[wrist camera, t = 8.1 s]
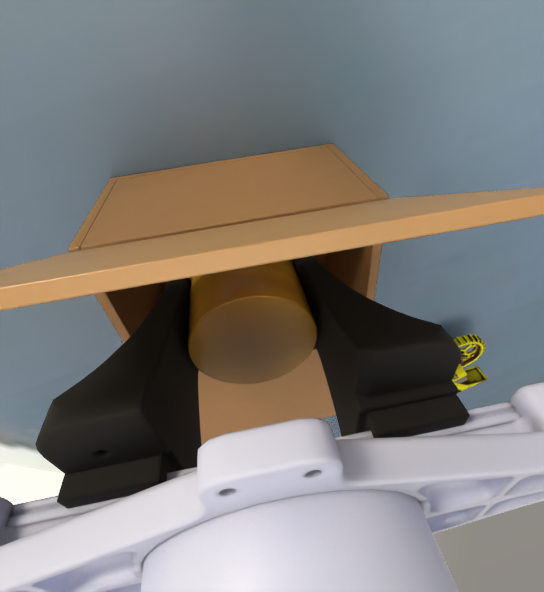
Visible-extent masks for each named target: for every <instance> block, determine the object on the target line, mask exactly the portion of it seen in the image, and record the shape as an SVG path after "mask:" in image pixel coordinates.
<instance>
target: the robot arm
mask: <svg viewBox="0 0 544 592" xmlns="http://www.w3.org/2000/svg"><path fill="white" fill-rule="evenodd" d="M293 263H294V266H295V269H296V272H297V274H298V277H299V280H300V282H301V285H302V288H303V290H304V293H305V296H306V299H307V301H308V304H309V307H310V309H311V312H312V315H313V317H314V320H315V323H316V326H317V340H316V344H315V347H316V349H317V351H318V354H319V357H320V360H321V363H322V366H323V370H324V373H325V376H326V380H327V383H328V387H329V390H330V394H331V397H332V401H333V405H334V408H335V412H336V416H337V420H338V423H339V427H340V431H341V435H342V437H338V438H334V435H333V432H332V429H331V427H330V426H329V424H328V422H325V421H323V420H319V419H316V418H299V419H294V420H289V421H284V422H279V423H274V424H269V425H264V426H259V427H255V428H250V429H245V430H240V431H235V432H230V433H225V434H222V435H219V436H216V437H213V438H210V439H209V440H208V441H207V442H203V443H201V431H200V414H199V393H198V372H199V369H198V368H197V367H196V366H195V364H194V363H193V361H192V359H191V357H190V355H189V352H188V331H189V311H190V290H191V281H190V278H184V279H178V280H173V281H169V282H168V284H167V286H166V287H165V289H164V291H163V292H162V294H161V296H160V297H159V299H158V300H157V302H156V303H155V305H154V306H153V308H152V309H151V311H150V312H149V314H148V315H147V316H146V318H145V319H144V320H143V322H142V323H141V325H140V326H139V327H138V328H137V329H136V331H135V332H134V333H133V334H132V335H131V336H130V337H129V339H128V340H127V341H126V342H125V343H124V344H123V345H122V346H121V347H120V348H119V349H118V350H117V351H116V352H114V353H113V354H112V355H111V356H110V357H109V358H108V359H107V360H106V361H105V362H104V363H103V364H101V365H100V366H99V367H98V368H97V369H95V370H94V371H93V372H92V373H90V374H89V375H88V376H87V377H85V378H84V379H83V380H81V381H80V382H79V383H77V384H76V385H74V386H73V387H71V388H70V389H68V390H67V391H66V392H64V393H63V394H61V395H60V396H58V397H57V398H55V399H54V400H53V401H52V404H51V406H50V408H49V410H48V412H47V415H46V418H45V420H44V423H43V425H42V428H41V430H40V433H39V436H38V438H37V441H36V447H37V450H38V451H39V453H40V454H41V455H42V456H43V457H44V458H45V459H47V460H48V461H49V462H51V463H52V464H53V465H55V466H56V467H57V468H58V469H60V470H61V471H62V472H64V473H65V476H64V479H63V482H62V486H61V489H60V492H59V495H58V496H55V497H50V498H46V499H41V500H36V501H31V502H27V503H22V504H17V505H13V504H12V503H11V502H9V501H8V500H6V499H4V498H1V497H0V592H459V591H458V589H457V587H456V585H455V582H454V580H453V578H452V576H451V573H450V571H449V569H448V567H447V564H446V563H445V560H444V558H443V556H442V553H441V551H440V549H439V547H438V545H437V542H436V540H435V538H434V535H433V534H434V533H438V532H441V531H444V530H447V529H451V528H454V527H457V526H460V525H463V524H467V523H470V522H473V521H476V520H480V519H483V518H486V517H489V516H493V515H496V514H499V513H502V512H506V511H509V510H513V509H516V508H519V507H523V506H526V505H529V504H533V503H537V502H541V501H544V382H542V383H537V384H532V385H527V386H524V387H522V388H520V389H518V390H517V391H516V392H515V393H514V394H513V395H512V397H511V399H510V402H505V403H501V404H496V405H491V406H486V407H481V408H477V409H472V410H466V408H465V407H464V405H463V404H462V402H461V401H460V399H459V398H458V396H457V395H456V394H457V393H458V388H457V387H456V385H455V384H454V382H453V381H452V379H453V376H454V374H455V372H456V370H457V367H458V365H459V363H460V359H461V356H462V355H461V350H460V348H459V347H458V345H457V344H456V343H455V342H454V340H453V339H452V338H451V336H450V335H449V334H448V333H447V332H446V331H445V330H444V329H443V327H442V326H441V325H438V324H435V323H431V322H428V321H424V320H420V319H417V318H414V317H411V316H408V315H405V314H403V313H400V312H397V311H395V310H392V309H390V308H388V307H385V306H383V305H381V304H379V303H377V302H375V301H373V300H371V299H369V298H367V297H365V296H364V295H362V294H360V293H358V292H357V291H355V290H353V289H352V288H350V287H349V286H348V285H346V284H345V283H343V282H342V281H341V280H339V279H338V278H337V277H336V276H334V275H333V274H332V273H331V272H329V271H328V270H327V269H326V268H325V267H324V266H322V265H321V264H320V263H319V262H318V261H317V260H316V259H315V258H314V257H313V256H309V257H304V258H298V259H293Z"/></svg>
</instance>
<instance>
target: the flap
mask: <svg viewBox="0 0 544 592" xmlns="http://www.w3.org/2000/svg"><path fill="white" fill-rule="evenodd" d="M542 215H544V188H530V189H516V190H501V191H487V192H472V193H458V194H443V195H429V196H414V197H400V198H391V199H385V200H379V201H374V202H368V203H362V204H356V205H350V206H344V207H338V208H332V209H326V210H320V211H314V212H308V213H302V214H296V215H290V216H284V217H278V218H272V219H266V220H260V221H254V222H248V223H242V224H237V225H231V226H225V227H219V228H213V229H207V230H201V231H195V232H189V233H183V234H177V235H171V236H165V237H159V238H153V239H147V240H141V241H135V242H129V243H123V244H117V245H111V246H105V247H99V248H94V249H88V250H82V251H76V252H70V253H64V254H59V255H55V256H51V257H47V258H43V259H39V260H35V261H31V262H28V263H24V264H20V265H16V266H12V267H8V268H4V269H0V311H2V310H8V309H13V308H19V307H25V306H30V305H36V304H42V303H48V302H53V301H59V300H65V299H70V298H76V297H82V296H87V295H93V294H99V293H104V292H110V291H116V290H121V289H127V288H133V287H139V286H144V285H150V284H156V283H161V282H167V281H173V280H178V279H184V278H190V277H195V276H201V275H207V274H212V273H218V272H224V271H230V270H235V269H241V268H247V267H252V266H258V265H264V264H269V263H275V262H281V261H286V260H292V259H298V258H304V257H309V256H315V255H321V254H326V253H332V252H338V251H343V250H349V249H355V248H360V247H366V246H372V245H377V244H383V243H389V242H395V241H400V240H406V239H412V238H417V237H423V236H429V235H434V234H440V233H446V232H451V231H457V230H463V229H468V228H474V227H480V226H486V225H491V224H497V223H503V222H508V221H514V220H520V219H525V218H531V217H537V216H542Z"/></svg>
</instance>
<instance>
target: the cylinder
mask: <svg viewBox="0 0 544 592" xmlns="http://www.w3.org/2000/svg"><path fill="white" fill-rule="evenodd" d="M316 340H317V326H316V323H315V320H314V317H313V315H312V312H311V309H310V307H309V304H308V301H307V299H306V296H305V293H304V290H303V288H302V285H301V282H300V280H299V277H298V274H297V272H296V269H295V266H294V264H293V261H292V260H286V261H281V262H275V263H269V264H264V265H258V266H252V267H247V268H241V269H235V270H230V271H224V272H218V273H212V274H207V275H201V276H195V277H191V290H190V311H189V331H188V352H189V355H190V357H191V359H192V361H193V363H194V364H195V366H196V367H197V368H198V369H199V370H200V371H201V372H203V373H204V374H206V375H207V376H209V377H211V378H213V379H216V380H218V381H222V382H225V383H231V384H257V383H263V382H267V381H271V380H274V379H277V378H279V377H282V376H284V375H286V374H288V373H290V372H291V371H293V370H295V369H296V368H297V367H299V366H300V365H301V364H302V363H303V362H304V361H305V360H306V359H307V358H308V357H309V356H310V354H311V352H312V351H313V349H314V347H315V344H316Z"/></svg>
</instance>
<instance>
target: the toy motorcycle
mask: <svg viewBox="0 0 544 592" xmlns="http://www.w3.org/2000/svg"><path fill="white" fill-rule="evenodd" d="M453 340H454V342H455V343H456V344H457V345H458V347H461V346H464V345H467V344H469V345H468V346H467V347H465V348H463V349H460V350H461V355H462V356H461V359H460V363H459V365H458V367H457V370H456V372H455V374H454V376H453V379H452V381H453V382H454V384H455V385H456V387H457V388H458V392H461V391H462V390H465V389H467V388H470V387H472V386H475V385H477V384H480V383H482V382H485V381H486V380H487V377H486V376H485V375H484V374H483V372H482V371H481V370H480V368H479V367H478V366H475V367H472V368H468V369H465V370H464V369H463V368H462V367H465V366H468V365H469V364H471V363H474V361H475V360H476V359H477V360H478V358H479V356H482V352H484V351H485V350H484V348H486V347H485V346H484V345H485V343H484V342H483V341H482V340H481V339H480V338H479V336H477V337H476V335H473V336H471V335H470V334H469V335H468V336H465V335H463V336H462V337H457V338H456V339H453ZM473 346H475V347H474V349H473V350H472V351H471V352H468V353H467V352H466V350H467V349H468V348H470V347H473ZM465 355H466V356H465Z"/></svg>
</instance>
